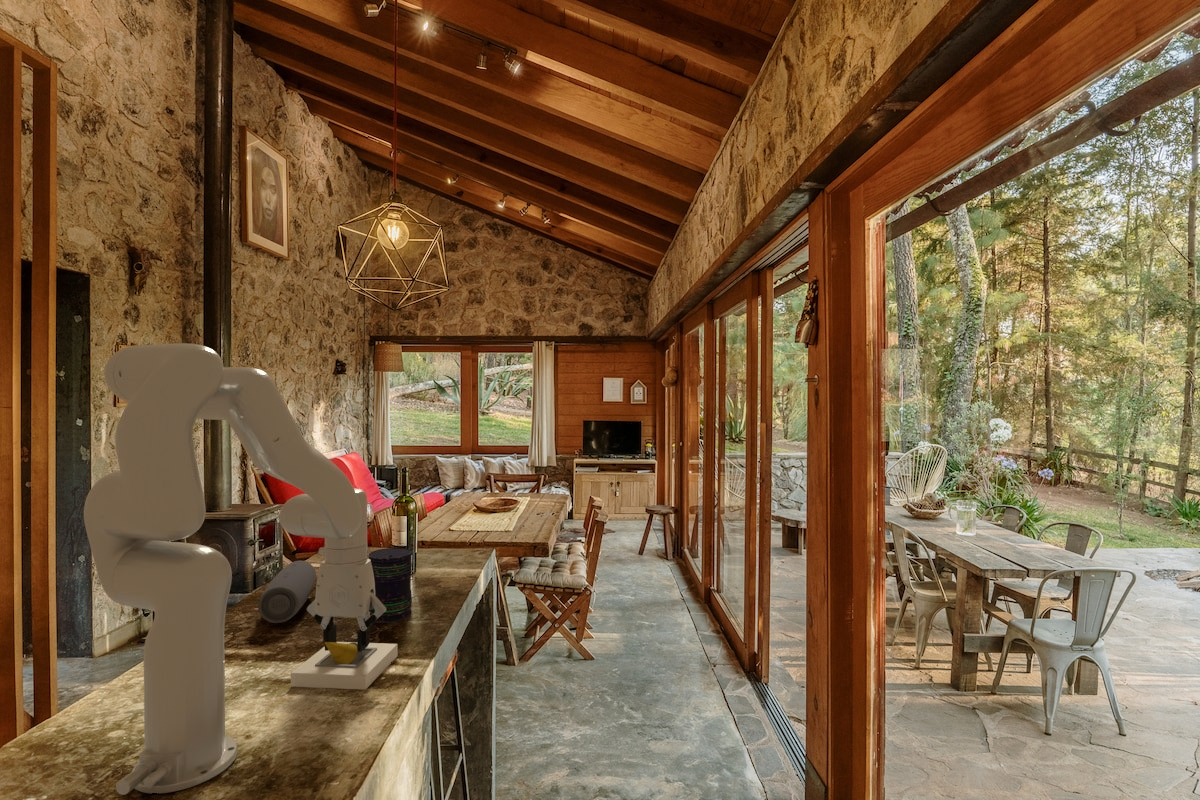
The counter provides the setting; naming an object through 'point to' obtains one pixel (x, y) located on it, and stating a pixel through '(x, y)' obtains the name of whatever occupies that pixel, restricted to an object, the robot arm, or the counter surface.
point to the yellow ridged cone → (344, 653)
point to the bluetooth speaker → (287, 592)
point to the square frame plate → (344, 668)
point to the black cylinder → (392, 582)
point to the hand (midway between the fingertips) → (346, 647)
